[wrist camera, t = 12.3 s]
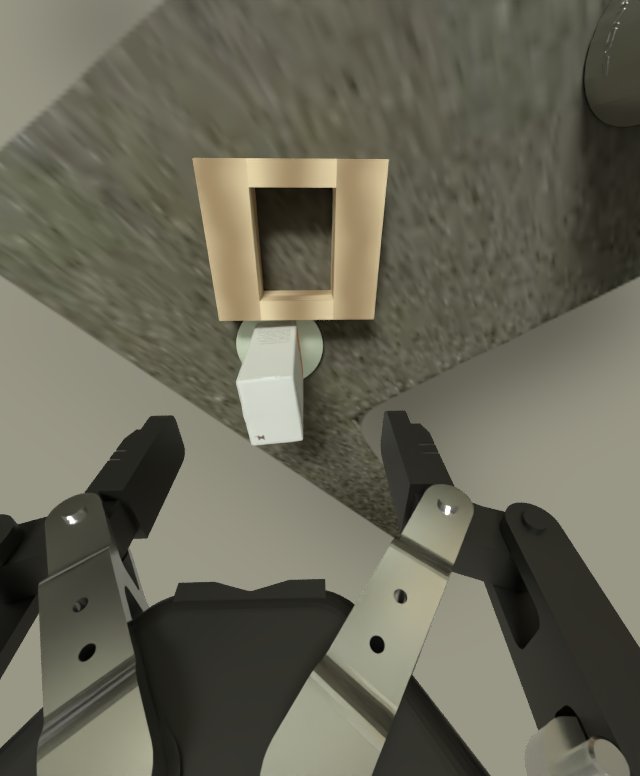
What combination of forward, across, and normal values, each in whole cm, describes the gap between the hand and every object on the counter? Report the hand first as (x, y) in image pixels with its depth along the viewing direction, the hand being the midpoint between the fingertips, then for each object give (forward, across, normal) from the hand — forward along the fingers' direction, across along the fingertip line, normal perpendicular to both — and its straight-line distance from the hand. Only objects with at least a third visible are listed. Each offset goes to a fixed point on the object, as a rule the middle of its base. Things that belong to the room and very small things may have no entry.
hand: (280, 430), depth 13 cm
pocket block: (+22, 0, -4) cm, 22 cm away
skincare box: (+22, +2, +6) cm, 23 cm away
